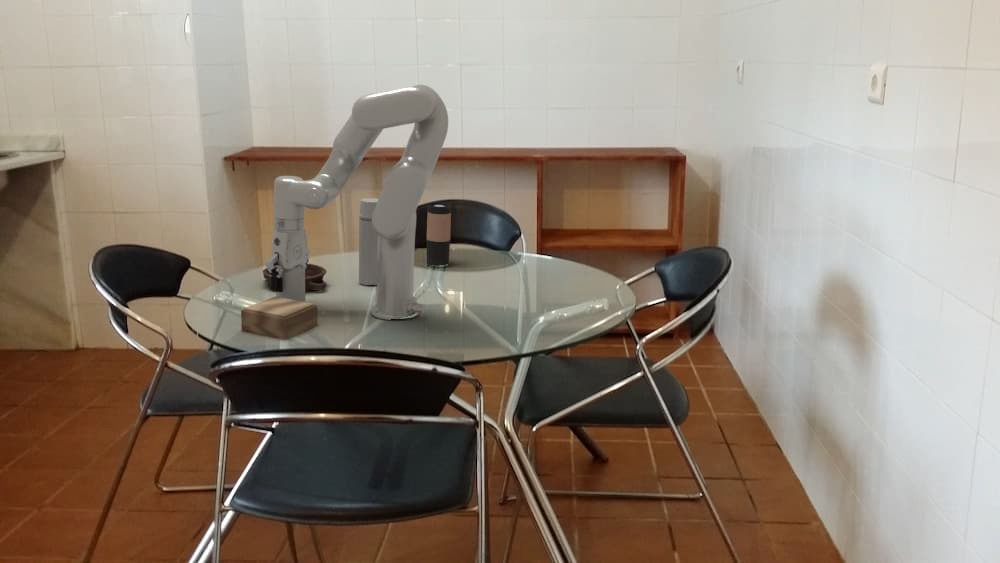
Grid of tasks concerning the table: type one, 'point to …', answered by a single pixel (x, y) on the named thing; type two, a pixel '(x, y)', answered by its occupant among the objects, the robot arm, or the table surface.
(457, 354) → the table surface
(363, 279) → the water bottle
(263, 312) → the plinth
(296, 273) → the can
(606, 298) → the table surface
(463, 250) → the table surface
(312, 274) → the dish
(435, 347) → the table surface
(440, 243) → the travel mug
